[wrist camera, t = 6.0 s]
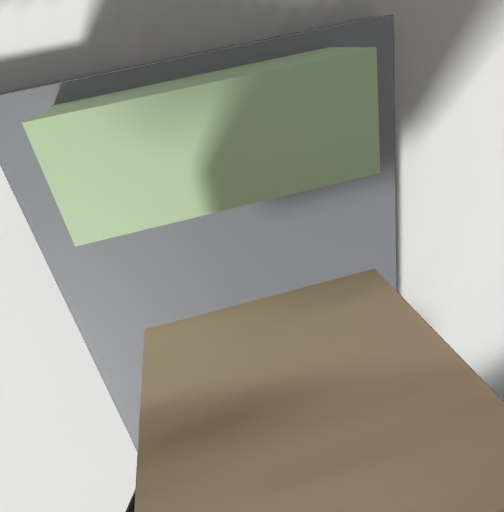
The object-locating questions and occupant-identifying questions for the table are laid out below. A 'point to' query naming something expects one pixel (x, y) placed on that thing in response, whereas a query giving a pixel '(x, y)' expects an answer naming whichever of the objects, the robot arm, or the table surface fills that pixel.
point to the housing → (315, 409)
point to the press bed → (207, 240)
